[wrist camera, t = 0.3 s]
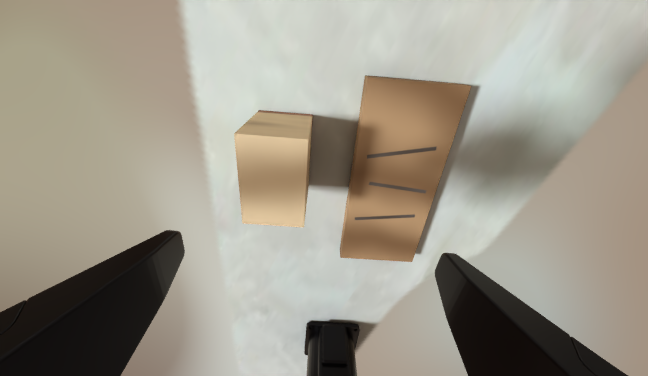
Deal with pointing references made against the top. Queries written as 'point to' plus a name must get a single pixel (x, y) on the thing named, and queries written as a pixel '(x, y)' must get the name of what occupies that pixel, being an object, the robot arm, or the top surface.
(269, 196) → the block
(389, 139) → the board
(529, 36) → the top surface
